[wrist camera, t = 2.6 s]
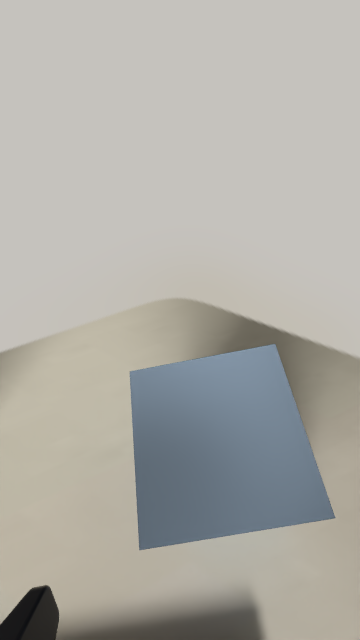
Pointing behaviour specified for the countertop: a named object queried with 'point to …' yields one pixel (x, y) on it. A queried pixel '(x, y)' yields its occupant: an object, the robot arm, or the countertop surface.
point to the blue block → (221, 450)
